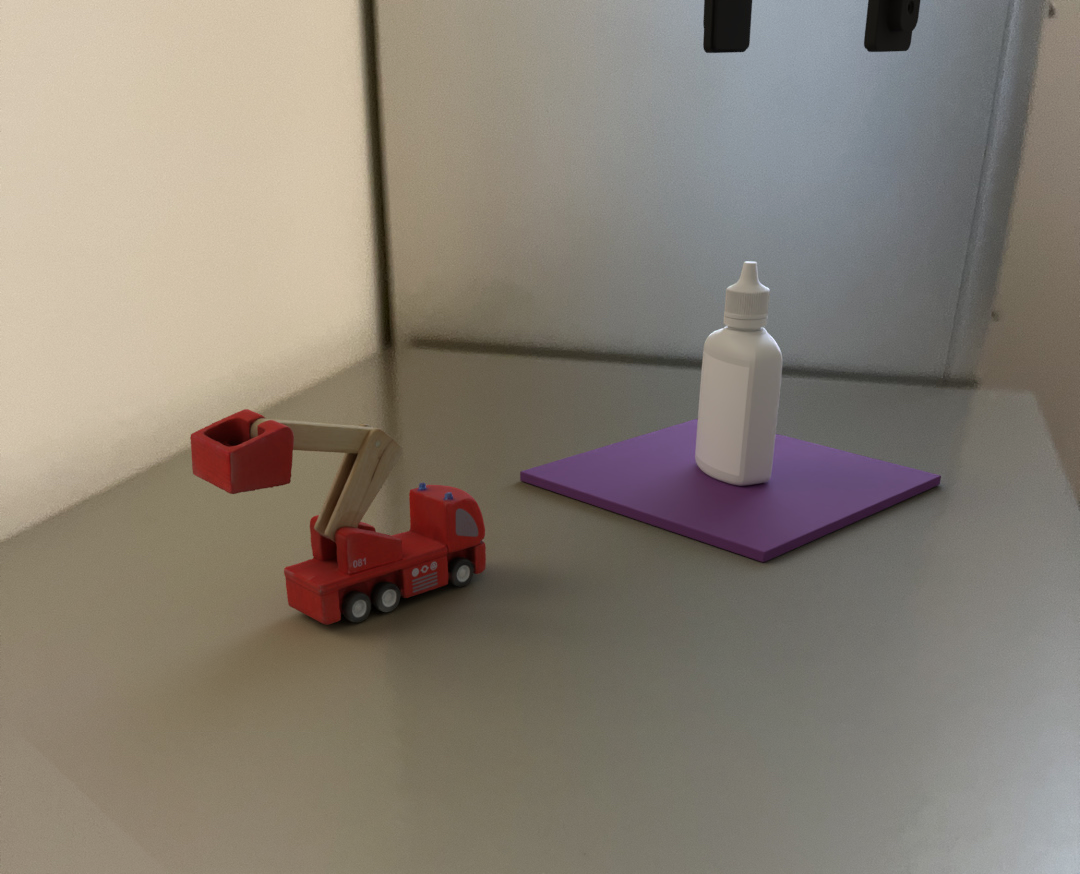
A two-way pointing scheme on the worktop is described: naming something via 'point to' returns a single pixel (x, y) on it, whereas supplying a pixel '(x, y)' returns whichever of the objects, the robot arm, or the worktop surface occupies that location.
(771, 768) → the worktop surface
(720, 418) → the eye dropper bottle
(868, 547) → the worktop surface
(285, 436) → the toy fire truck
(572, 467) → the purple square mat
